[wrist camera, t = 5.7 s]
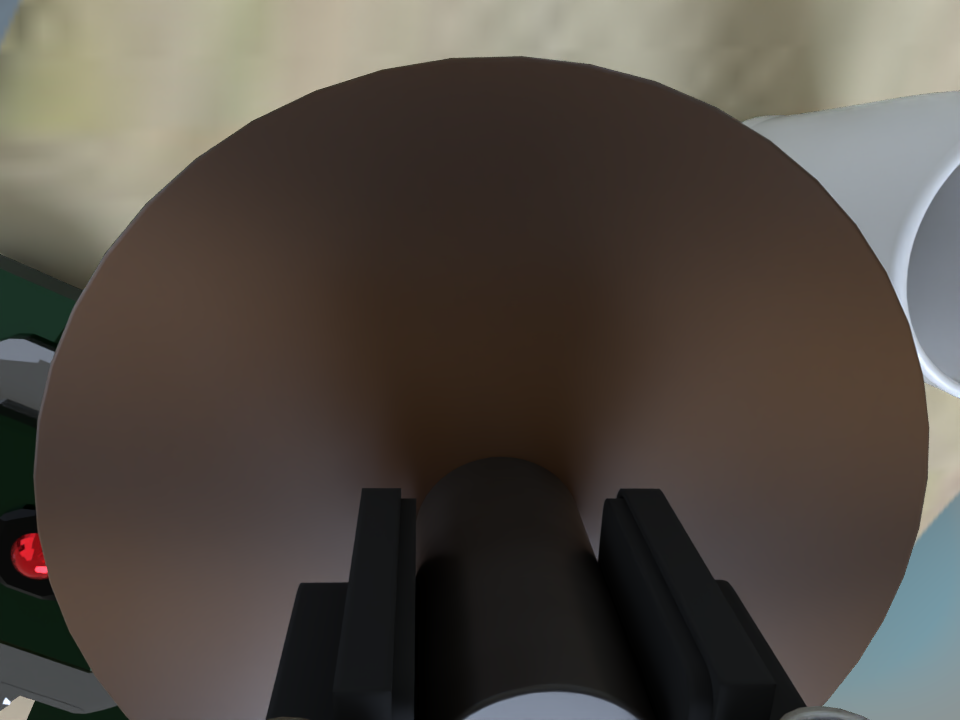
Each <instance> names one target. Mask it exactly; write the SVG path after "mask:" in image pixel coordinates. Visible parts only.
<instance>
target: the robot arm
mask: <svg viewBox="0 0 960 720" xmlns="http://www.w3.org/2000/svg"><path fill="white" fill-rule="evenodd" d="M598 565H599V567H600V570H601V573H602V575H603V578H604V581H605V583H606V586H607V589H608V591H609V594H610V597H611V599H612V602H613V605H614V608H615V610H616V613H617V616H618V618H619V621H620V624H621V626H622V629H623V632H624V634H625V637H626V640H627V642H628V645H629V648H630V650H631V653H632V656H633V659H634V661H635V664H636V667H637V669H638V672H639V675H640V677H641V680H642V683H643V685H644V688H645V691H646V693H647V696H648V699H649V701H650V704H651V707H652V710H653V712H654V715H655V718H656V720H869V719H867V718H865V717H863V716H860V715H858V714H855V713H852V712H848V711H846V710H842V709H838V708H831V707H824V706H812V707H807V706H806V704H805V702H804V701H803V699H802V698H801V696H800V694H799V693H798V691H797V690H796V688H795V686H794V685H793V683H792V681H791V680H790V678H789V677H788V675H787V673H786V672H785V670H784V669H783V667H782V665H781V664H780V662H779V661H778V659H777V657H776V656H775V654H774V653H773V651H772V649H771V648H770V646H769V644H768V643H767V641H766V640H765V638H764V636H763V635H762V633H761V632H760V630H759V628H758V627H757V625H756V624H755V622H754V620H753V619H752V617H751V616H750V614H749V612H748V611H747V609H746V607H745V606H744V604H743V603H742V601H741V599H740V598H739V596H738V595H737V593H736V591H735V590H734V588H733V587H732V586H731V585H730V583H729V582H728V581H725V580H715V579H714V578H713V576H712V574H711V573H710V571H709V569H708V568H707V566H706V564H705V563H704V561H703V559H702V557H701V556H700V554H699V552H698V551H697V549H696V547H695V546H694V544H693V542H692V541H691V539H690V537H689V536H688V534H687V532H686V531H685V529H684V527H683V526H682V524H681V522H680V520H679V519H678V517H677V515H676V514H675V512H674V510H673V509H672V507H671V505H670V504H669V502H668V500H667V499H666V497H665V495H664V494H663V492H662V491H661V490H660V489H646V488H620V490H619V491H618V494H617V497H616V498H606V500H605V502H604V506H603V513H602V524H601V534H600V544H599V554H598ZM415 583H416V498H401V488H362V492H361V499H360V506H359V513H358V519H357V526H356V533H355V540H354V547H353V554H352V561H351V568H350V574H349V581H348V582H327V583H300V584H299V587H298V590H297V593H296V597H295V601H294V605H293V609H292V614H291V618H290V622H289V626H288V630H287V634H286V638H285V642H284V646H283V650H282V654H281V658H280V662H279V667H278V671H277V675H276V679H275V683H274V687H273V691H272V695H271V699H270V703H269V707H268V711H267V716H266V720H414V680H415Z"/></svg>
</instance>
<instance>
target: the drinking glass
mask: <svg viewBox="0 0 960 720" xmlns="http://www.w3.org/2000/svg"><path fill="white" fill-rule="evenodd" d="M741 123H743V124H745V125H746V126H748V127H749V128H751V129H753V130H754V131H756V132H758V133H759V134H761V135H763V136H764V137H766V138H767V139H769V140H771V141H772V142H773V143H774V144H775V145H777V146H778V147H779V148H780V149H781V150H782V151H784V152H785V153H786V154H787V155H788V156H790V157H791V158H792V159H793V160H794V161H796V162H797V163H798V164H799V165H800V166H802V167H803V168H804V169H805V170H806V171H807V172H809V173H810V174H811V175H812V176H813V177H815V178H816V179H817V180H818V181H819V182H820V183H821V185H822V186H823V187H824V188H825V189H826V190H827V191H828V193H829V194H830V195H831V196H832V197H833V198H834V199H835V201H836V202H837V203H838V204H839V205H840V206H841V207H842V209H843V210H844V211H845V212H846V213H847V214H848V215H849V217H850V218H851V219H852V220H853V221H854V222H855V223H856V225H857V226H858V228H859V229H860V231H861V233H862V234H863V236H864V237H865V239H866V240H867V242H868V244H869V245H870V247H871V248H872V250H873V251H874V253H875V255H876V256H877V258H878V259H879V261H880V262H881V264H882V266H883V267H884V269H885V270H886V272H887V274H888V276H889V279H890V281H891V283H892V285H893V288H894V290H895V292H896V295H897V297H898V299H899V301H900V304H901V306H902V308H903V310H904V313H905V315H906V317H907V320H908V322H909V324H910V328H911V332H912V336H913V339H914V343H915V347H916V350H917V354H918V358H919V362H920V365H921V369H922V373H923V378H924V383H927V384H929V385H931V386H933V387H936V388H938V389H940V390H942V391H945V392H947V393H949V394H951V395H952V396H955V397H957V398H959V399H960V90H958V91H946V92H936V93H927V94H919V95H912V96H906V97H899V98H893V99H887V100H881V101H875V102H869V103H864V104H858V105H852V106H846V107H839V108H833V109H827V110H821V111H814V112H808V113H801V114H794V115H767V116H760V117H755V118H751V119H748V120H746V121H743V122H741Z"/></svg>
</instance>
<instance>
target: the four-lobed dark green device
mask: <svg viewBox="0 0 960 720" xmlns="http://www.w3.org/2000/svg"><path fill="white" fill-rule="evenodd" d="M82 291H83V290H81V289H79V288H76V287H74V286H72V285H69V284H67V283H65V282H63V281H60V280H58V279H56V278H53V277H51V276H49V275H47V274H44V273H42V272H40V271H38V270H35V269H33V268H31V267H28V266H26V265H24V264H22V263H19V262H17V261H15V260H13V259H10V258H8V257H6V256H3V255H1V254H0V711H1V710H2V709H4V708H5V707H7V706H8V705H9V704H10V703H11V702H12V700H14V699H15V698H17V697H18V696H23V697H26V698H29V699H32V700H35V702H34V704H33V707H32V709H31V711H30V714H29V716H28V718H27V720H129V719H128V718H127V717H126V716H125V714H124V713H123V712H122V710H121V709H120V708H119V707H118V705H117V704H116V703H115V701H114V700H113V699H112V697H111V696H110V695H109V694H108V692H107V691H106V690H105V688H104V687H103V686H102V684H101V683H100V682H99V681H98V679H97V678H96V677H95V675H94V674H93V672H92V670H91V668H90V667H89V665H88V663H87V661H86V660H85V658H84V656H83V654H82V653H81V651H80V649H79V647H78V646H77V644H76V642H75V640H74V639H73V637H72V635H71V633H70V632H69V630H68V627H67V625H66V622H65V620H64V617H63V614H62V612H61V609H60V607H59V604H58V602H57V599H56V597H55V594H54V592H53V589H52V587H51V584H50V581H49V577H48V573H47V568H46V564H45V560H44V556H43V551H42V547H41V543H40V539H39V534H38V529H37V516H36V503H35V491H34V478H33V474H34V460H35V447H36V434H37V420H38V415H39V411H40V407H41V402H42V398H43V394H44V389H45V385H46V381H47V377H48V372H49V368H50V364H51V361H52V358H53V356H54V353H55V351H56V348H57V346H58V343H59V341H60V339H61V336H62V334H63V331H64V329H65V326H66V324H67V321H68V319H69V316H70V314H71V311H72V309H73V307H74V305H75V303H76V301H77V300H78V298H79V296H80V295H81V293H82Z"/></svg>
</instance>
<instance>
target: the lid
mask: <svg viewBox="0 0 960 720" xmlns="http://www.w3.org/2000/svg"><path fill="white" fill-rule="evenodd" d="M928 450H929V421H928V413H927V404H926V395H925V386H924V378H923V373H922V369H921V365H920V362H919V358H918V354H917V350H916V347H915V343H914V339H913V336H912V332H911V328H910V324H909V322H908V320H907V317H906V315H905V313H904V310H903V308H902V306H901V304H900V301H899V299H898V297H897V295H896V292H895V290H894V288H893V285H892V283H891V281H890V279H889V276H888V274H887V272H886V270H885V269H884V267H883V266H882V264H881V262H880V261H879V259H878V258H877V256H876V255H875V253H874V251H873V250H872V248H871V247H870V245H869V244H868V242H867V240H866V239H865V237H864V236H863V234H862V233H861V231H860V229H859V228H858V226H857V225H856V223H855V222H854V221H853V220H852V219H851V218H850V217H849V215H848V214H847V213H846V212H845V211H844V210H843V209H842V207H841V206H840V205H839V204H838V203H837V202H836V201H835V199H834V198H833V197H832V196H831V195H830V194H829V193H828V191H827V190H826V189H825V188H824V187H823V186H822V185H821V183H820V182H819V181H818V180H817V179H816V178H815V177H813V176H812V175H811V174H810V173H809V172H807V171H806V170H805V169H804V168H803V167H802V166H800V165H799V164H798V163H797V162H796V161H794V160H793V159H792V158H791V157H790V156H788V155H787V154H786V153H785V152H784V151H782V150H781V149H780V148H779V147H778V146H777V145H775V144H774V143H773V142H772V141H771V140H769V139H767V138H766V137H764V136H763V135H761V134H759V133H758V132H756V131H754V130H753V129H751V128H749V127H748V126H746V125H745V124H743V123H741V122H740V121H738V120H736V119H735V118H733V117H732V116H730V115H728V114H727V113H725V112H723V111H722V110H720V109H718V108H717V107H715V106H712V105H710V104H708V103H705V102H703V101H701V100H698V99H696V98H694V97H691V96H689V95H687V94H684V93H682V92H679V91H677V90H675V89H672V88H670V87H668V86H665V85H663V84H661V83H658V82H656V81H652V80H649V79H645V78H641V77H637V76H633V75H630V74H626V73H622V72H618V71H614V70H611V69H607V68H603V67H599V66H595V65H592V64H584V63H576V62H567V61H558V60H550V59H541V58H532V57H524V56H513V57H474V58H449V59H443V60H437V61H431V62H425V63H419V64H413V65H407V66H401V67H395V68H390V69H384V70H380V71H376V72H373V73H370V74H367V75H364V76H361V77H357V78H354V79H351V80H348V81H345V82H342V83H339V84H335V85H332V86H329V87H326V88H323V89H320V90H316V91H314V92H312V93H310V94H308V95H305V96H303V97H301V98H299V99H297V100H295V101H293V102H291V103H289V104H287V105H285V106H282V107H280V108H278V109H276V110H274V111H272V112H270V113H268V114H266V115H264V116H262V117H260V118H257V119H255V120H253V121H251V122H250V123H248V124H247V125H245V126H244V127H243V128H241V129H240V130H238V131H237V132H235V133H234V134H232V135H231V136H229V137H228V138H226V139H225V140H223V141H222V142H220V143H219V144H217V145H216V146H214V147H213V148H211V149H210V150H208V151H207V152H205V153H204V154H202V155H201V156H199V157H198V158H196V159H195V160H194V161H193V162H192V163H190V164H189V165H188V166H187V167H186V168H185V169H184V170H183V171H182V172H180V173H179V174H178V175H177V176H176V177H175V178H174V179H173V180H172V181H171V182H169V183H168V184H167V185H166V186H165V187H164V188H163V189H162V190H161V191H159V192H158V193H157V194H156V195H155V196H154V197H153V198H152V199H151V200H150V201H148V202H147V203H146V204H145V206H144V207H143V208H142V209H141V210H140V212H139V213H138V214H137V215H136V216H135V218H134V219H133V220H132V221H131V223H130V224H129V225H128V226H127V227H126V229H125V230H124V231H123V232H122V233H121V235H120V236H119V237H118V238H117V240H116V241H115V242H114V243H113V244H112V246H111V247H110V248H109V249H108V251H107V252H106V253H105V254H104V256H103V258H102V260H101V261H100V263H99V265H98V266H97V268H96V270H95V271H94V273H93V275H92V276H91V278H90V280H89V281H88V283H87V285H86V286H85V288H84V290H83V291H82V293H81V295H80V296H79V298H78V300H77V301H76V303H75V305H74V307H73V309H72V311H71V314H70V316H69V319H68V321H67V324H66V326H65V329H64V331H63V334H62V336H61V339H60V341H59V343H58V346H57V348H56V351H55V353H54V356H53V358H52V361H51V364H50V368H49V372H48V377H47V381H46V385H45V389H44V394H43V398H42V402H41V407H40V411H39V415H38V420H37V434H36V447H35V460H34V474H33V478H34V491H35V503H36V516H37V529H38V534H39V539H40V543H41V547H42V551H43V556H44V560H45V564H46V568H47V573H48V577H49V581H50V584H51V587H52V589H53V592H54V594H55V597H56V599H57V602H58V604H59V607H60V609H61V612H62V614H63V617H64V620H65V622H66V625H67V627H68V630H69V632H70V633H71V635H72V637H73V639H74V640H75V642H76V644H77V646H78V647H79V649H80V651H81V653H82V654H83V656H84V658H85V660H86V661H87V663H88V665H89V667H90V668H91V670H92V672H93V674H94V675H95V677H96V678H97V679H98V681H99V682H100V683H101V684H102V686H103V687H104V688H105V690H106V691H107V692H108V694H109V695H110V696H111V697H112V699H113V700H114V701H115V703H116V704H117V705H118V707H119V708H120V709H121V710H122V712H123V713H124V714H125V716H126V717H127V718H128V719H129V720H266V716H267V711H268V707H269V703H270V699H271V695H272V691H273V687H274V683H275V679H276V675H277V671H278V667H279V662H280V658H281V654H282V650H283V646H284V642H285V638H286V634H287V630H288V626H289V622H290V618H291V614H292V609H293V605H294V601H295V597H296V593H297V590H298V587H299V584H300V583H327V582H348V581H349V574H350V568H351V561H352V554H353V547H354V540H355V533H356V526H357V519H358V513H359V506H360V499H361V492H362V488H401V498H416V583H415V680H414V720H656V718H655V715H654V712H653V710H652V707H651V704H650V701H649V699H648V696H647V693H646V691H645V688H644V685H643V683H642V680H641V677H640V675H639V672H638V669H637V667H636V664H635V661H634V659H633V656H632V653H631V650H630V648H629V645H628V642H627V640H626V637H625V634H624V632H623V629H622V626H621V624H620V621H619V618H618V616H617V613H616V610H615V608H614V605H613V602H612V599H611V597H610V594H609V591H608V589H607V586H606V583H605V581H604V578H603V575H602V573H601V570H600V567H599V565H598V554H599V544H600V534H601V524H602V513H603V506H604V502H605V500H606V498H616V497H617V494H618V491H619V490H620V488H646V489H660V490H661V491H662V492H663V494H664V495H665V497H666V499H667V500H668V502H669V504H670V505H671V507H672V509H673V510H674V512H675V514H676V515H677V517H678V519H679V520H680V522H681V524H682V526H683V527H684V529H685V531H686V532H687V534H688V536H689V537H690V539H691V541H692V542H693V544H694V546H695V547H696V549H697V551H698V552H699V554H700V556H701V557H702V559H703V561H704V563H705V564H706V566H707V568H708V569H709V571H710V573H711V574H712V576H713V578H714V579H715V580H725V581H728V582H729V583H730V585H731V586H732V587H733V588H734V590H735V591H736V593H737V595H738V596H739V598H740V599H741V601H742V603H743V604H744V606H745V607H746V609H747V611H748V612H749V614H750V616H751V617H752V619H753V620H754V622H755V624H756V625H757V627H758V628H759V630H760V632H761V633H762V635H763V636H764V638H765V640H766V641H767V643H768V644H769V646H770V648H771V649H772V651H773V653H774V654H775V656H776V657H777V659H778V661H779V662H780V664H781V665H782V667H783V669H784V670H785V672H786V673H787V675H788V677H789V678H790V680H791V681H792V683H793V685H794V686H795V688H796V690H797V691H798V693H799V694H800V696H801V698H802V699H803V701H804V702H805V704H806V706H807V707H812V706H823V705H824V704H825V703H826V702H827V701H828V699H829V698H830V697H831V695H832V694H833V693H834V692H835V690H836V689H837V688H838V686H839V685H840V684H841V683H842V682H843V680H844V679H845V678H846V676H847V675H848V674H849V673H850V672H851V670H852V669H853V668H854V667H855V665H856V664H857V663H858V661H859V660H860V658H861V656H862V655H863V653H864V651H865V650H866V648H867V647H868V645H869V643H870V642H871V640H872V638H873V637H874V635H875V634H876V632H877V630H878V629H879V627H880V626H881V624H882V622H883V621H884V618H885V616H886V614H887V612H888V610H889V608H890V606H891V603H892V601H893V599H894V597H895V595H896V593H897V590H898V588H899V586H900V584H901V582H902V580H903V577H904V575H905V572H906V568H907V565H908V562H909V559H910V556H911V553H912V549H913V546H914V543H915V540H916V537H917V533H918V530H919V526H920V520H921V514H922V508H923V503H924V497H925V491H926V485H927V479H928Z"/></svg>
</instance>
